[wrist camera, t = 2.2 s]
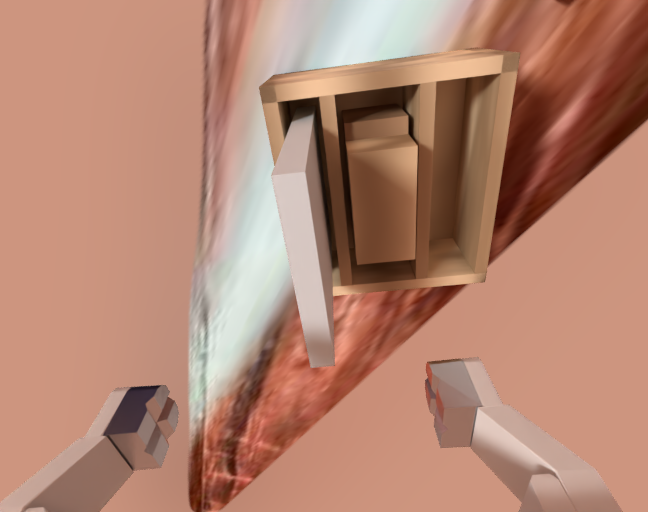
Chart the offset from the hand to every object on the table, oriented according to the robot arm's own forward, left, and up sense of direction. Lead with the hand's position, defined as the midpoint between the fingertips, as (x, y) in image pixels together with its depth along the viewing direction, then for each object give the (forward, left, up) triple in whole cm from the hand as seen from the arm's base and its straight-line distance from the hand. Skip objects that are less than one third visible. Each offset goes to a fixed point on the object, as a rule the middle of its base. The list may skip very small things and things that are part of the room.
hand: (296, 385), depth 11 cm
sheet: (0, 0, -18) cm, 18 cm away
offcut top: (-4, 0, -14) cm, 14 cm away
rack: (-5, 0, -19) cm, 19 cm away
